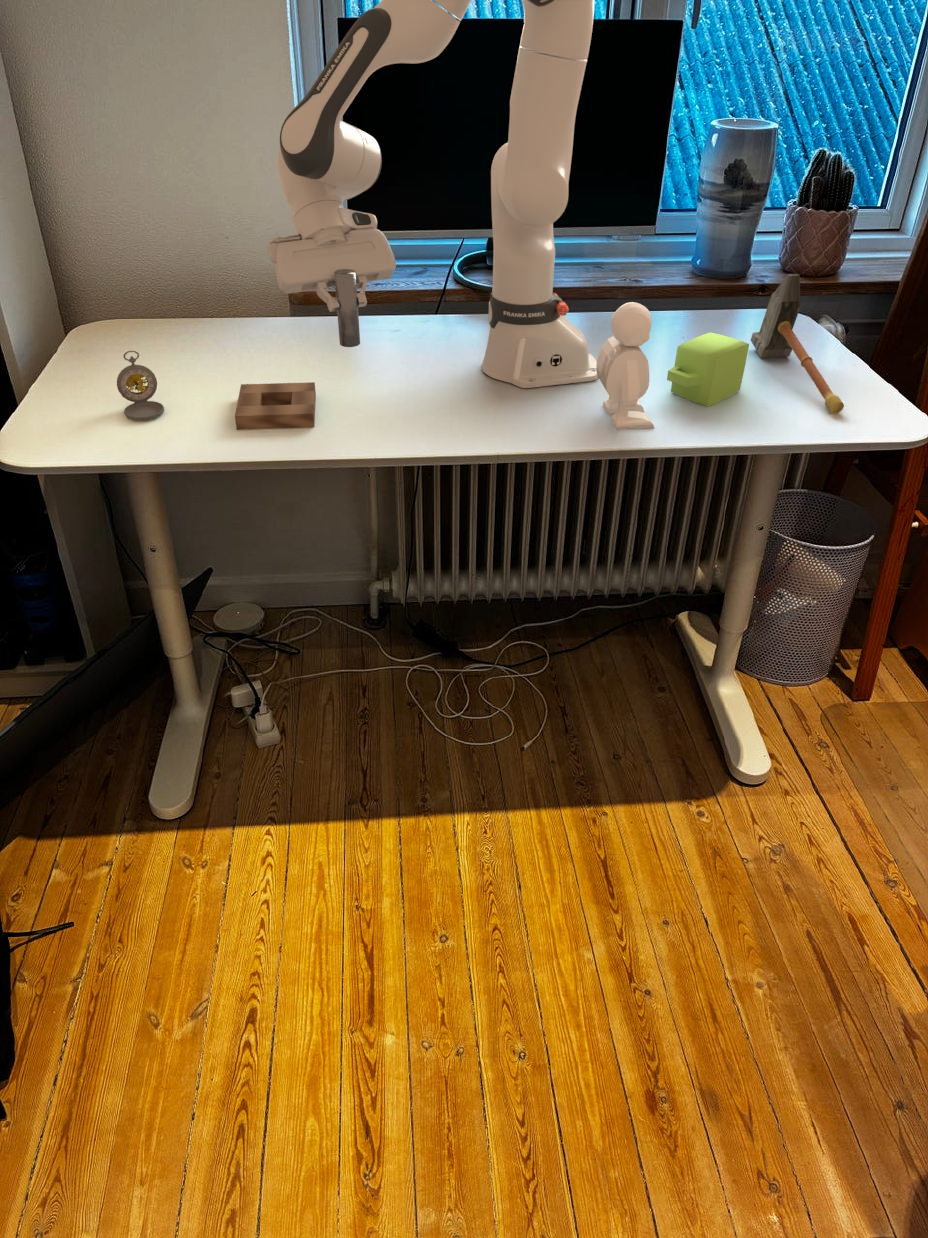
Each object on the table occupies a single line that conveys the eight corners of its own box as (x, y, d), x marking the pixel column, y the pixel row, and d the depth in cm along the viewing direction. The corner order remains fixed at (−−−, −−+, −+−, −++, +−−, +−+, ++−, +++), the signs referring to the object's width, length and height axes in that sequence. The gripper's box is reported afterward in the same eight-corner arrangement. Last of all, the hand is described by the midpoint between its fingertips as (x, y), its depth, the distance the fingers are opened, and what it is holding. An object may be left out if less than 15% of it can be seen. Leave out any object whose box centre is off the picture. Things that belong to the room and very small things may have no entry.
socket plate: (315, 395, 172) (314, 382, 171) (314, 427, 162) (313, 413, 160) (242, 397, 171) (241, 384, 169) (236, 429, 161) (234, 415, 159)
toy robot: (657, 432, 162) (674, 316, 150) (606, 434, 161) (619, 318, 149) (635, 398, 173) (650, 288, 161) (587, 400, 172) (598, 289, 160)
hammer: (839, 364, 161) (773, 267, 181) (807, 440, 174) (749, 342, 193) (872, 362, 162) (803, 266, 181) (838, 438, 174) (777, 341, 194)
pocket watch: (144, 426, 161) (132, 369, 155) (109, 413, 165) (97, 358, 159) (179, 408, 167) (169, 353, 161) (145, 397, 170) (134, 343, 164)
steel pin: (360, 339, 165) (355, 268, 158) (360, 346, 162) (355, 275, 155) (339, 339, 165) (334, 269, 157) (339, 347, 162) (334, 275, 155)
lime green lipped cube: (708, 369, 185) (717, 321, 179) (753, 384, 179) (763, 335, 173) (652, 395, 175) (660, 345, 169) (698, 412, 169) (707, 361, 163)
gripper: (266, 228, 154) (291, 307, 153) (384, 213, 161) (408, 289, 160) (262, 249, 159) (286, 325, 158) (375, 234, 167) (399, 307, 166)
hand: (348, 307), depth 159 cm, fingers closed on steel pin, 3 cm apart
